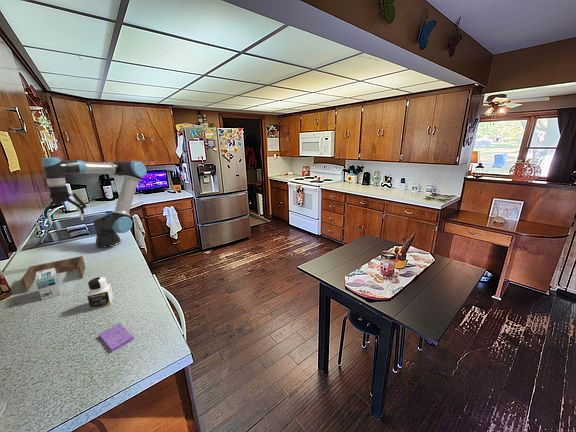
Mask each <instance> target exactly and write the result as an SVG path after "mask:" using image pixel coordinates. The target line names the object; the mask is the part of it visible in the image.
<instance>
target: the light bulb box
mask: <svg viewBox="0 0 576 432" xmlns="http://www.w3.org/2000/svg"><path fill="white" fill-rule="evenodd" d="M34 282H35V284H36V286H37V290H38V292H39V296H40V298H41V301H43V300H47V299H52V298H53V297H57V296H61V295H62V286H61V284H60V280H59V277H58V274H57V273H56V270H55V268H51V269H47V270H43V271H38V272H36V277H35V281H34Z"/></svg>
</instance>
